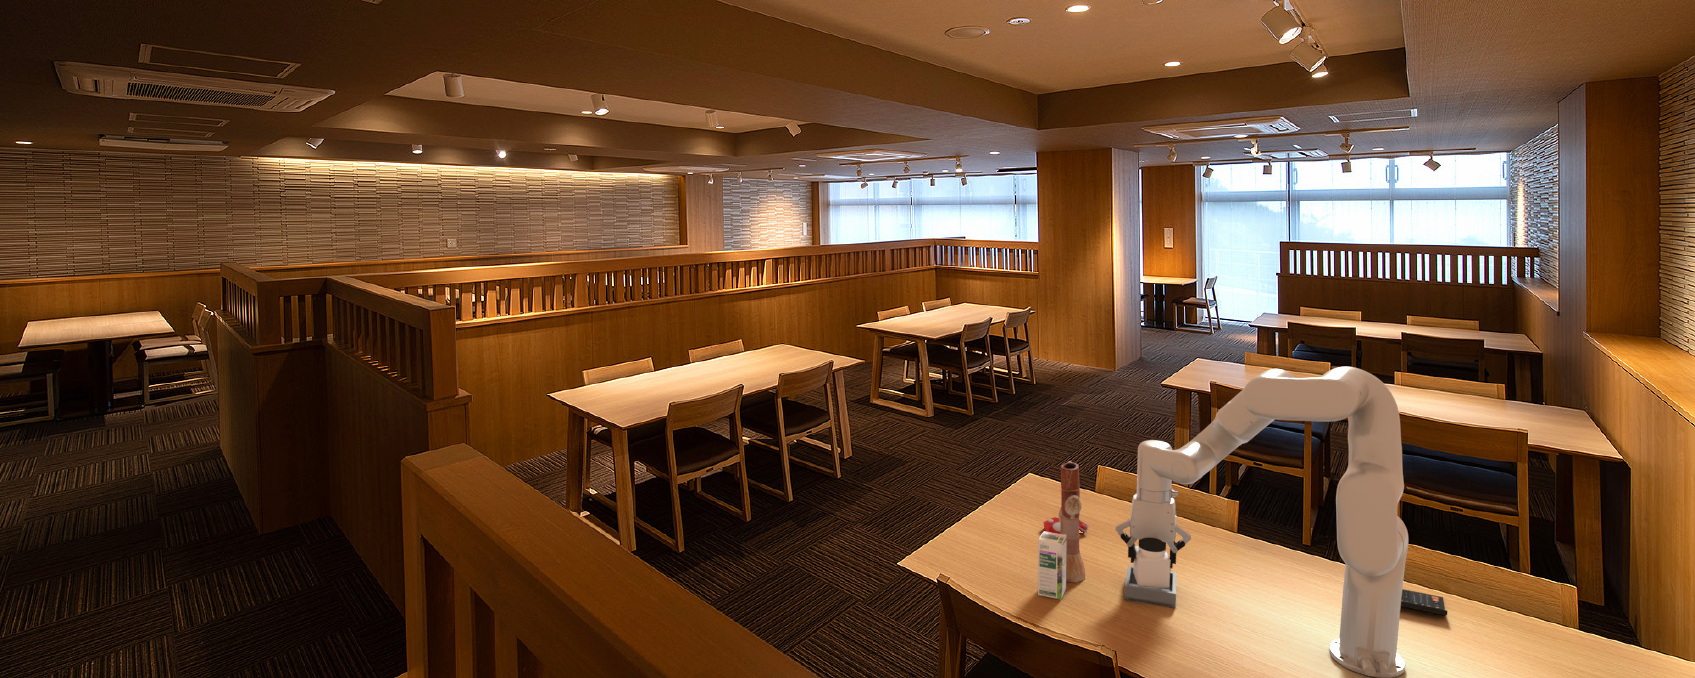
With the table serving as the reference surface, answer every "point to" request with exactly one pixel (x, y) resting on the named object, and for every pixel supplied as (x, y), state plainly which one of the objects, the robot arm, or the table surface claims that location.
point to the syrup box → (1052, 565)
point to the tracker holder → (1054, 526)
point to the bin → (1150, 591)
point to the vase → (1071, 520)
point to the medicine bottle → (1152, 564)
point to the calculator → (1423, 602)
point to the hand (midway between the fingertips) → (1151, 562)
